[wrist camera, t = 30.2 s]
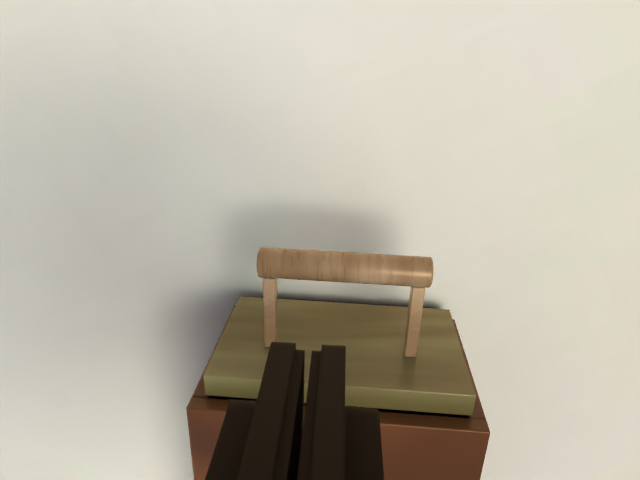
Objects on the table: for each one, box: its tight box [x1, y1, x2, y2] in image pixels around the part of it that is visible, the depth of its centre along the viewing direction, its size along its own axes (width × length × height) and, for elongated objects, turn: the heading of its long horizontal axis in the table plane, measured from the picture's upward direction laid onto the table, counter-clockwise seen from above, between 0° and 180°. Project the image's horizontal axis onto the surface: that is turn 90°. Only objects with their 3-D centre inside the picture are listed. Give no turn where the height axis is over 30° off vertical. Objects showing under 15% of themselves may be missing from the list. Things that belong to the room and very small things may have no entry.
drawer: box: [203, 248, 476, 417], centre depth 28 cm, size 23×12×7 cm, turn 178°
